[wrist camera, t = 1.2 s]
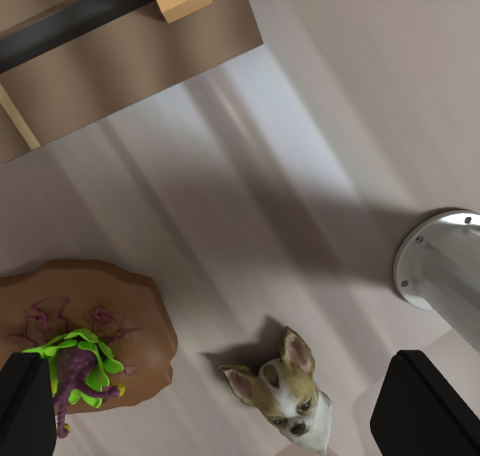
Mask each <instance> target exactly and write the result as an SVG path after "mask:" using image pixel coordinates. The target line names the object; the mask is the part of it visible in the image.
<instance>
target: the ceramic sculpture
mask: <svg viewBox="0 0 480 456" xmlns="http://www.w3.org/2000/svg"><path fill="white" fill-rule="evenodd" d="M279 352H280V355H281V358H277V359H273V360H271V361H269V362H267V363H266V364H264V365H263V366H262V367H261V368H260V370H259V373H258V376H257V377H255V375H254V374H253V372H252V370H251V369H250V368H249V367H248V366H245V365H220V366H219V369H220V370H221V371H222V373H224V376H225V378H226V380H227V382H228V384H229V386H231V389H232V391H233V393H234V395H235V396H236V397H238V398H239V399H240V400H241V401H242V402H243V403H244V404H246V405H249V406H255V407H257V408H258V409H259V410H260V411H261V413H262V414H263V415H264V416H265V418H266V419H267V421H268V422H269V423H271V424H272V425H274V426H275V427H277V428H278V429H279V431H280V433H281V434H282V435H284V436H286V437H287V438H288V439H289V440H290V441H291V442H292V443H294V444H296V445H298V446H300V447H301V448H303V449H306V450H310V451H314V452H317V453H319V454H320V455H322V456H324V455H325V454H326V450H327V444H328V440H329V436H330V429H331V424H332V408H333V405H332V402H331V400H330V398H329V397H328V396H327V395H326V394H325V393H323V392H322V391H320V390H319V388H318V387H317V385H316V383H315V382H314V381H313V373H314V370H315V360H314V358H313V356H312V354H311V350H310V348H309V347H308V346H307V344H306V343H305V342H304V340H303V339H302V338H301V337H300V336H299V335H298V334H297V332H295V331H293V330H292V329H291V328H289V327H288V326H286V327H285V330H284V334H283V336H282V338H281V341H280V343H279Z"/></svg>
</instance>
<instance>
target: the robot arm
mask: <svg viewBox="0 0 480 456" xmlns="http://www.w3.org/2000/svg"><path fill="white" fill-rule="evenodd" d="M393 278H394V283H395V286H396V288H397V290H398V292H399V293H400V294H401V295H402V296H403V298H404V299H405V300H407V301H408V302H409V303H410V304H411V305H413V306H415V307H417V308H420V309H423V310H427V311H436V312H437V313H438V314H439V315H440V316H441V317H442V318H443V319H444V320H445V321H446V322H447V323H448V324H449V325H450V326H451V327H452V328H453V329H454V330H456V331H457V332H458V333H459V334H460V335H461V336H462V337H463V339H465V341H467V342H468V343H469V344H470V345H471V346H472V347H473V348H474V349H475V350H476V351H477V352H478V353H479V354H480V214H478V213H475V212H473V211H466V210H453V211H448V212H444V213H440V214H438V215H436V216H433V217H431V218H429V219H428V220H426V221H424V222H423V223H421V224H420V225H419V226H417V227H416V228H415V229H414V230H413V231H412V232H411V233H410V234H409V235H408V236H407V237H406V239H405V240H404V241H403V243H402V245H401V246H400V248H399V250H398V252H397V255H396V257H395V261H394V265H393ZM370 429H371V433H372V435H373V437H374V439H375V441H376V443H377V445H378V447H379V449H380V451H381V453H382V455H383V456H480V420H479V419H478V417H477V416H476V415H475V414H474V413H473V411H472V410H471V409H470V408H469V407H468V405H467V404H466V403H465V402H464V401H463V399H462V398H461V397H460V396H459V395H458V393H457V392H456V391H455V390H454V389H453V388H452V386H451V385H450V384H449V383H448V381H447V380H446V379H445V378H444V377H443V375H442V374H441V373H440V372H439V371H438V369H437V368H436V367H435V366H434V365H433V364H432V362H431V361H430V360H429V359H428V357H427V356H426V355H425V354H424V353H423V352H422V351H420V350H400V351H398V352H397V354H396V355H395V356H393V357H392V359H391V362H390V364H389V367H388V370H387V373H386V376H385V379H384V382H383V385H382V388H381V391H380V394H379V397H378V399H377V402H376V405H375V408H374V411H373V414H372V417H371V420H370ZM56 439H57V430H56V421H55V413H54V404H53V396H52V387H51V379H50V370H49V362H48V359H47V358H41V354H40V353H39V352H14V353H12V354H11V355H10V357H9V358H8V360H7V361H6V363H5V364H4V366H3V368H2V369H1V371H0V456H52V455H53V452H54V449H55V445H56Z"/></svg>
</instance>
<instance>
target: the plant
mask: <svg viewBox="0 0 480 456" xmlns="http://www.w3.org/2000/svg"><path fill="white" fill-rule="evenodd" d="M177 344H178V340H177V335H176V333H175V331H174V329H173V326H172V323H171V320H170V318H169V316H168V313H167V311H166V309H165V306H164V304H163V301H162V298H161V295H160V292H159V290H158V288H157V286H156V284H155V282H154V280H153V279H152V278H150V277H146V276H142V275H138V274H135V273H131V272H128V271H125V270H123V269H121V268H119V267H118V266H116V265H114V264H111V263H107V262H102V261H97V260H54V261H49V262H47V263H46V264H44V265H43V266H41V267H40V268H39V269H37V270H35V271H33V272H30V273H26V274H22V275H18V276H13V277H3V278H0V371H1V369H2V368H3V366H4V364H5V363H6V361H7V360H8V358H9V357H10V355H11V354H12V353H14V352H39V353H40V354H41V358H47V359H48V362H49V370H50V379H51V387H52V396H53V404H54V413H55V415H58V418H57V420H58V423H57V425H58V428H57V436H58V437H59V438H61V439H62V438H65V437H66V436H67V435H68V434H69V432H70V427H69V425H68V424H65V423H64V420H65V414H74V413H84V412H97V411H103V410H108V409H112V408H116V407H122V406H135V405H137V404H139V403H140V402H142V401H145V400H148V399H150V398H152V397H154V396H155V395H156V394H157V393H158V392H159V391H160V390H162V389H163V388H165V387H166V386H168V385H170V384H171V382H172V375H173V369H172V367H171V365H170V361H171V360H172V358H173V357H174V356H175V354H176V352H177Z"/></svg>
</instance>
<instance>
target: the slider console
mask: <svg viewBox="0 0 480 456" xmlns="http://www.w3.org/2000/svg"><path fill="white" fill-rule="evenodd" d="M262 44H264V43H263V40H262V37H261V35H260V32H259V29H258V26H257V23H256V20H255V17H254V14H253V12H252V9H251V6H250V3H249V0H213V1H212V3H211V4H209V5H207V6H205V7H203V8H201V9H199V10H197V11H194V12H192V13H190V14H188V15H186V16H184V17H182V18H180V19H177V20H175V21H173V22H171V23H169V24H168V22H167V20H166V19H165V17H164V15H163V14H162V12H161V10H160V7H159V5H158V3H157V1H156V0H0V165H1V164H3V163H5V162H8V161H10V160H12V159H14V158H16V157H19V156H21V155H23V154H25V153H27V152H29V151H32V150H34V149H36V148H38V147H40V146H42V145H45V144H47V143H49V142H51V141H53V140H56V139H58V138H60V137H62V136H64V135H66V134H69V133H71V132H73V131H75V130H77V129H80V128H82V127H84V126H86V125H88V124H90V123H93V122H95V121H97V120H99V119H101V118H104V117H106V116H108V115H110V114H112V113H114V112H117V111H119V110H121V109H123V108H125V107H127V106H130V105H132V104H134V103H136V102H138V101H141V100H143V99H145V98H147V97H149V96H151V95H154V94H156V93H158V92H160V91H162V90H165V89H167V88H169V87H171V86H173V85H175V84H178V83H180V82H182V81H184V80H186V79H189V78H191V77H193V76H195V75H197V74H199V73H202V72H204V71H206V70H208V69H210V68H213V67H215V66H217V65H219V64H221V63H223V62H226V61H228V60H230V59H232V58H234V57H236V56H239V55H241V54H243V53H245V52H247V51H250V50H252V49H254V48H256V47H258V46H260V45H262Z"/></svg>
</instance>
